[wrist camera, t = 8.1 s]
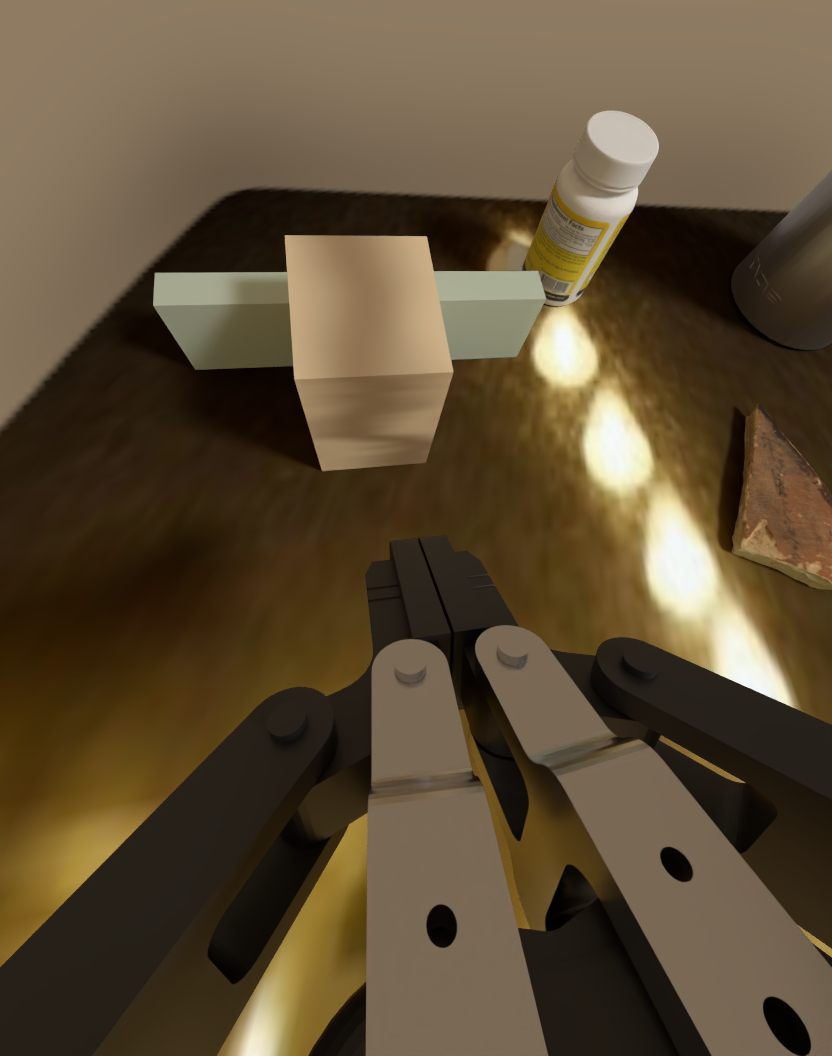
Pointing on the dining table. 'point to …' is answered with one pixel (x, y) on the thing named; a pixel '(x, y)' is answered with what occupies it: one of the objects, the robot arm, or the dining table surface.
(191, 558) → the dining table surface
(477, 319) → the sage fence board
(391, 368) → the birch block
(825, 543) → the shard
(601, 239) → the supplement bottle
